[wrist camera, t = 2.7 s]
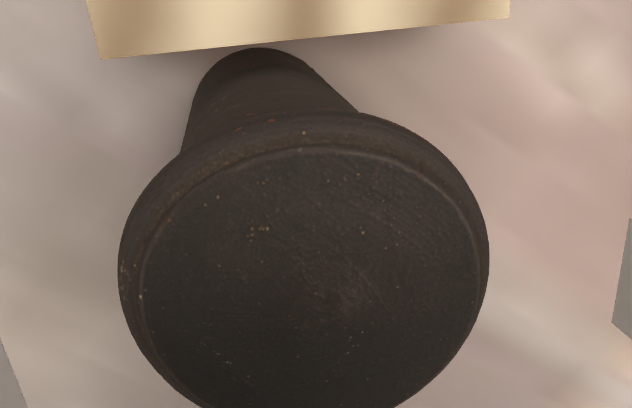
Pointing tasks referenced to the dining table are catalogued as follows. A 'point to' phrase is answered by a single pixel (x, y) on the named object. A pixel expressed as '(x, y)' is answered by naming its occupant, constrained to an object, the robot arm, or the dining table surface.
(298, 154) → the container
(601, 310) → the dining table surface
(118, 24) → the footstool
